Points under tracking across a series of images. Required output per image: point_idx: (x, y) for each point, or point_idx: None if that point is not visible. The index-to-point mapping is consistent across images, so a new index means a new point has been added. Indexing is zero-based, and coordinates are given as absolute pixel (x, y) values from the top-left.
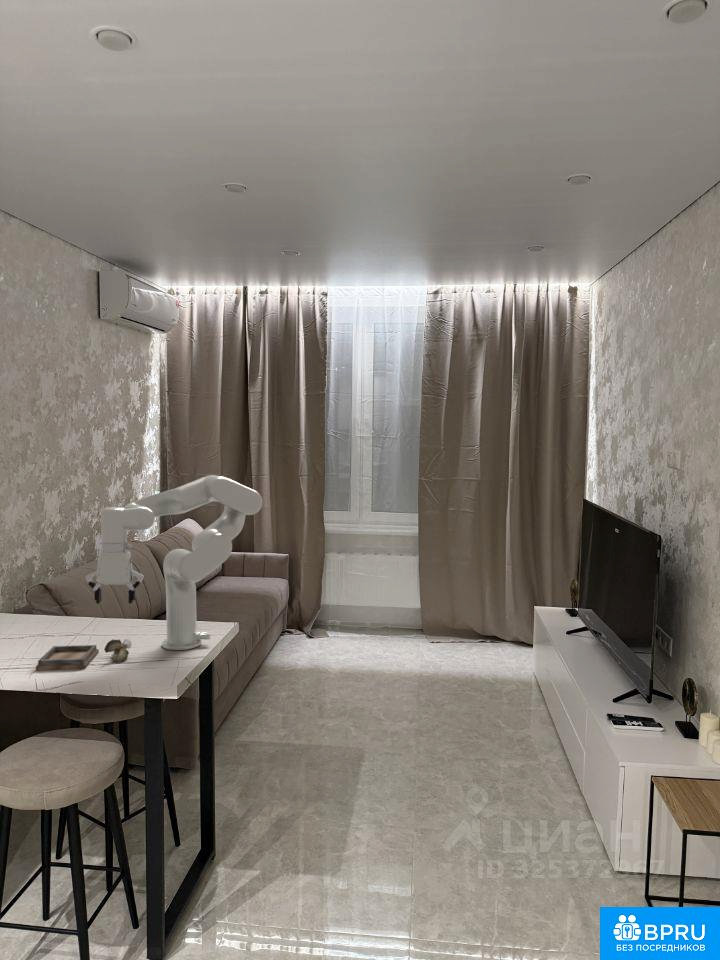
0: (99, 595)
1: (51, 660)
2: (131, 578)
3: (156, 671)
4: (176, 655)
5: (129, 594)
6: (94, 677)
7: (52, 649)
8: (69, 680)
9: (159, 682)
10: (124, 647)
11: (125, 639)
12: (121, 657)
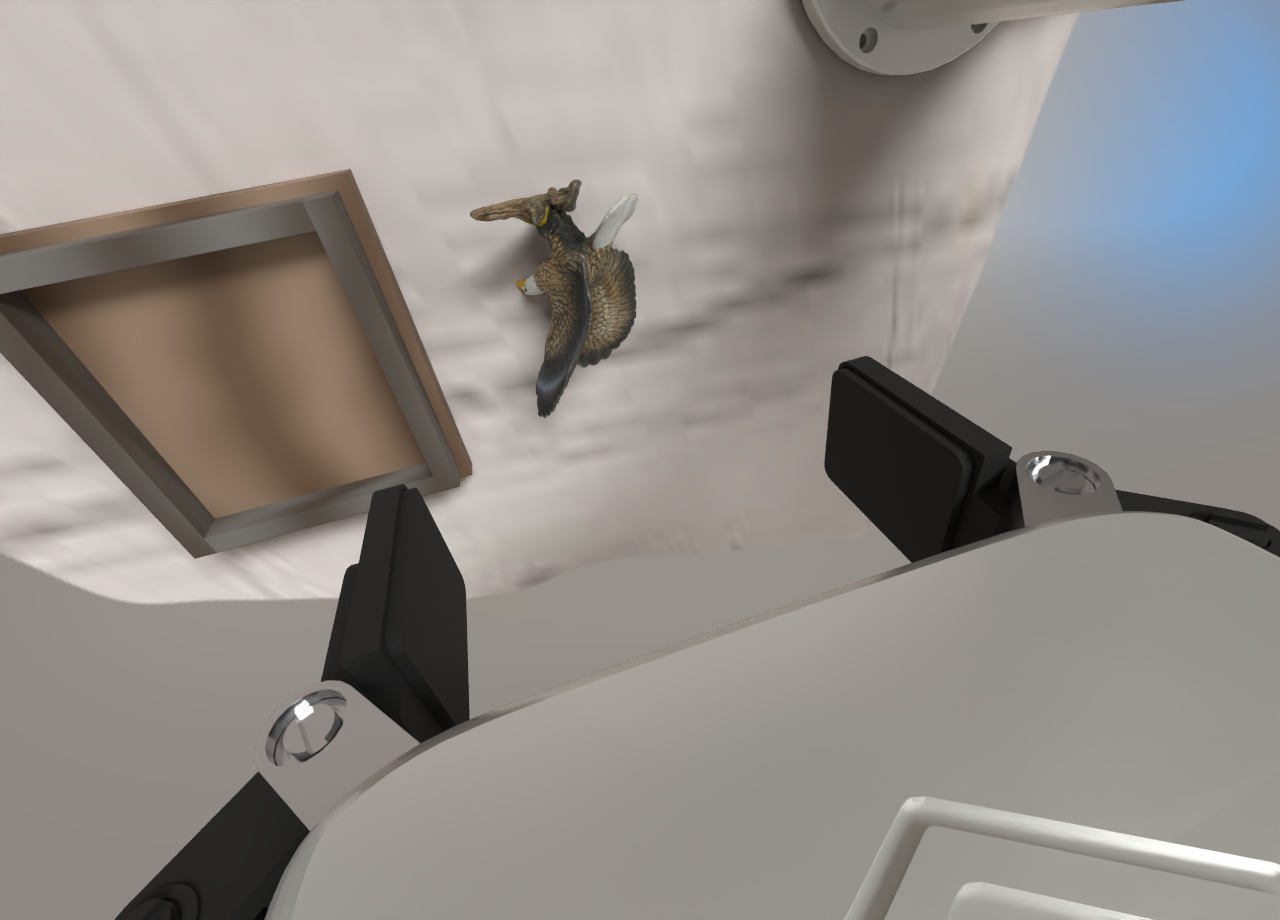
0: (452, 643)
1: (276, 535)
2: (1225, 533)
3: (808, 423)
4: (885, 179)
5: (907, 545)
6: (577, 530)
7: (34, 360)
8: (490, 576)
9: (830, 512)
10: (606, 262)
11: (604, 221)
12: (612, 335)
